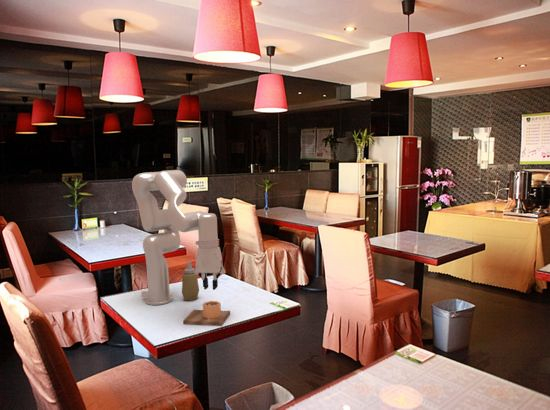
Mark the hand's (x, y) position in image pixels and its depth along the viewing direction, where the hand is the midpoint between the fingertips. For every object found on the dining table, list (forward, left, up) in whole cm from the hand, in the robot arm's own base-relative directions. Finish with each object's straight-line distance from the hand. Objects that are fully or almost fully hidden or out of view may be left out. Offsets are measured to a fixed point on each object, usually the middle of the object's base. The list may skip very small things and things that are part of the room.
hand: (210, 288), depth 168 cm
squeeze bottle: (-18, +23, -13) cm, 32 cm away
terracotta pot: (0, 0, -12) cm, 12 cm away
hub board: (-2, 0, -13) cm, 13 cm away
